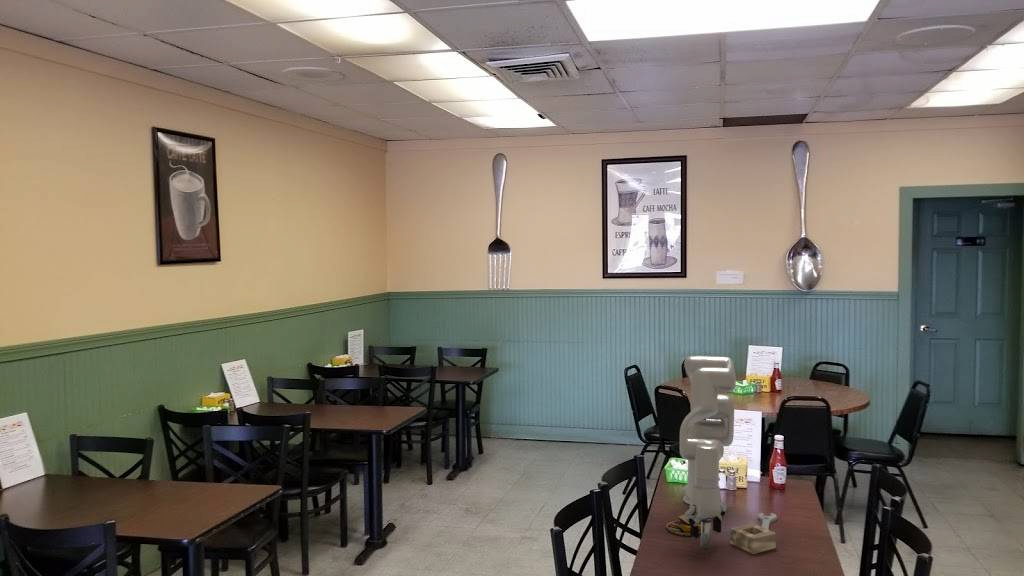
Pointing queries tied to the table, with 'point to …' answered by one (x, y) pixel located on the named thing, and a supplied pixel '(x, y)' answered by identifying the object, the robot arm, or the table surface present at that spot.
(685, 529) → the toy sandwich meal
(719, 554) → the table surface
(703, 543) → the metal peg
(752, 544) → the block
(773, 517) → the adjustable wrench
